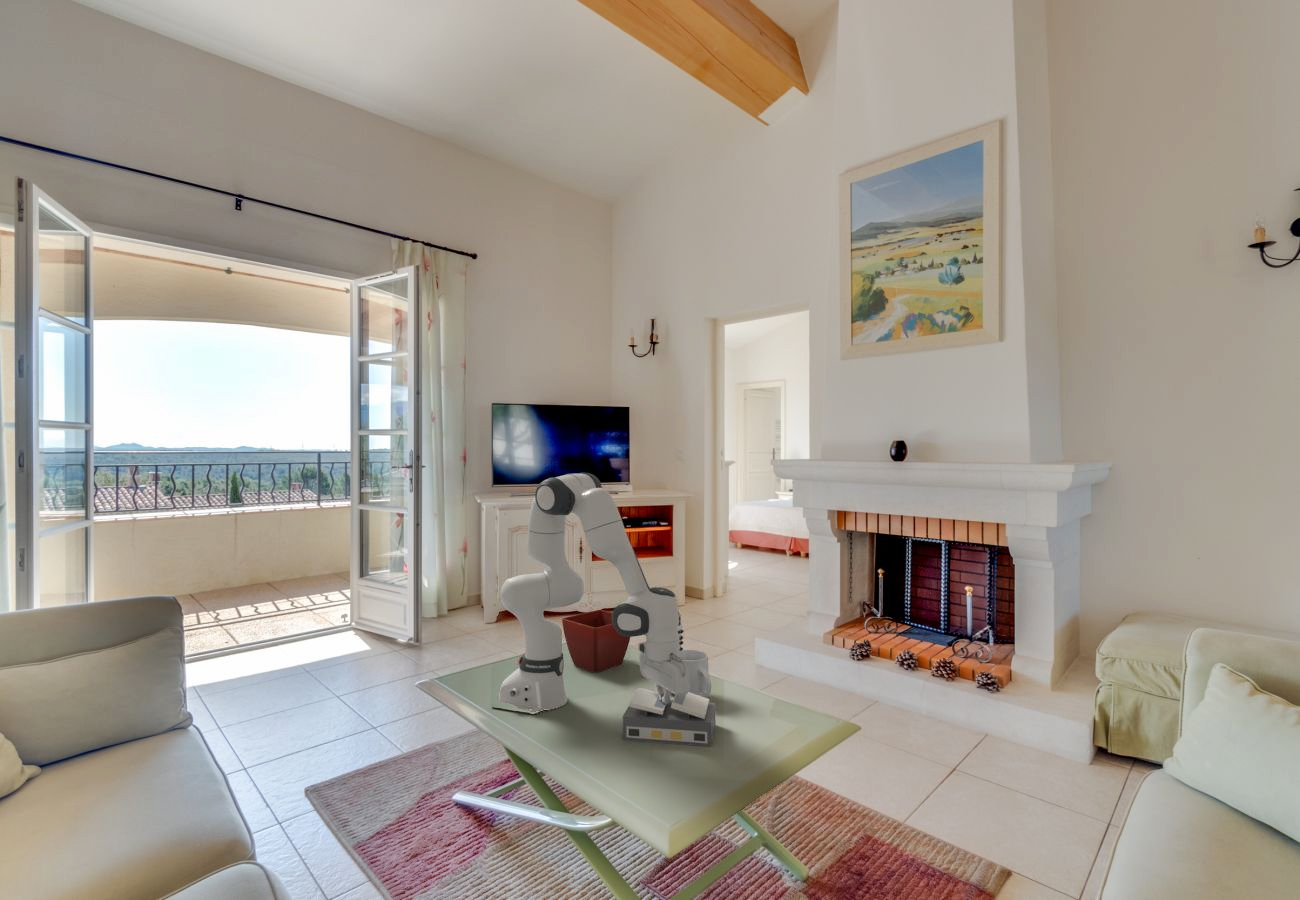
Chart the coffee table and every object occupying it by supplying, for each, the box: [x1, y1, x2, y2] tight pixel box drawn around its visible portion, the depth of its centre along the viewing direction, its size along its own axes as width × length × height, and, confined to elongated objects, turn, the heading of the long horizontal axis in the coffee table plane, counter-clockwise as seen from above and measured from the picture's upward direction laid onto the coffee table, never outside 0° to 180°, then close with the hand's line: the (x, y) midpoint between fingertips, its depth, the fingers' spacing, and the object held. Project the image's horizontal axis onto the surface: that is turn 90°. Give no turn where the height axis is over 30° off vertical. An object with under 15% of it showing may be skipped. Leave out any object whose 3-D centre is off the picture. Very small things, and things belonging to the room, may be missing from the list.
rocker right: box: [671, 692, 710, 719], centre depth 159 cm, size 9×11×1 cm
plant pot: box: [561, 609, 631, 673], centre depth 216 cm, size 19×19×17 cm
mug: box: [679, 649, 712, 698], centre depth 182 cm, size 15×11×13 cm
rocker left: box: [628, 687, 667, 715], centre depth 161 cm, size 9×11×1 cm
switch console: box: [622, 699, 716, 748], centre depth 160 cm, size 23×13×7 cm, turn 79°
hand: (664, 701), depth 160 cm, fingers closed
